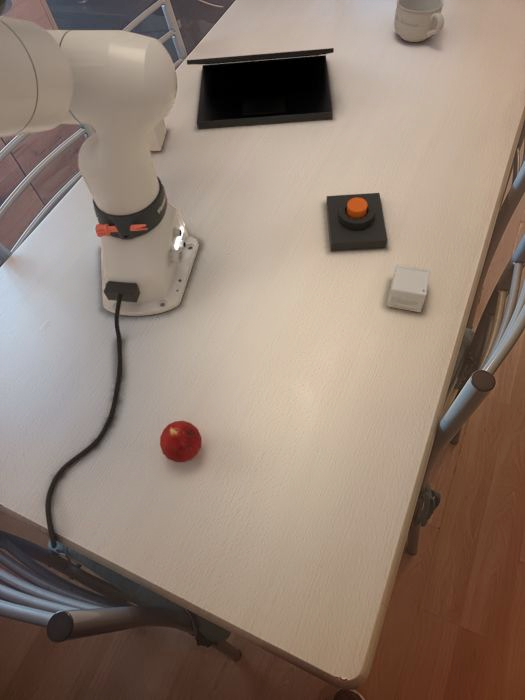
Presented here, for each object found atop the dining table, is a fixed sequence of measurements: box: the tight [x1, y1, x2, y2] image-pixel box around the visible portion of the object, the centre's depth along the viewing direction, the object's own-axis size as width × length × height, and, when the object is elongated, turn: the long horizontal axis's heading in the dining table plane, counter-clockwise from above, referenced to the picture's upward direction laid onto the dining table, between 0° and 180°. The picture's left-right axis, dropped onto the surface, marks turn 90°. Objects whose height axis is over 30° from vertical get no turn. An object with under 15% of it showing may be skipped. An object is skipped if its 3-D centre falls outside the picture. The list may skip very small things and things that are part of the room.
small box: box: [386, 263, 431, 313], centre depth 83 cm, size 6×6×5 cm
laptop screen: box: [186, 47, 335, 66], centre depth 111 cm, size 22×30×1 cm
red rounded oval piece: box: [159, 420, 202, 463], centre depth 71 cm, size 6×6×8 cm
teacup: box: [393, 0, 445, 43], centre depth 120 cm, size 14×11×8 cm
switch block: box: [325, 192, 388, 252], centre depth 92 cm, size 12×10×4 cm
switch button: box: [347, 198, 368, 219], centre depth 90 cm, size 4×4×2 cm
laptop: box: [196, 54, 333, 130], centre depth 116 cm, size 22×30×2 cm
